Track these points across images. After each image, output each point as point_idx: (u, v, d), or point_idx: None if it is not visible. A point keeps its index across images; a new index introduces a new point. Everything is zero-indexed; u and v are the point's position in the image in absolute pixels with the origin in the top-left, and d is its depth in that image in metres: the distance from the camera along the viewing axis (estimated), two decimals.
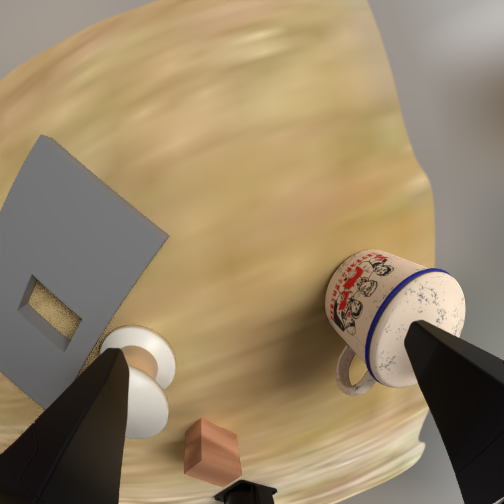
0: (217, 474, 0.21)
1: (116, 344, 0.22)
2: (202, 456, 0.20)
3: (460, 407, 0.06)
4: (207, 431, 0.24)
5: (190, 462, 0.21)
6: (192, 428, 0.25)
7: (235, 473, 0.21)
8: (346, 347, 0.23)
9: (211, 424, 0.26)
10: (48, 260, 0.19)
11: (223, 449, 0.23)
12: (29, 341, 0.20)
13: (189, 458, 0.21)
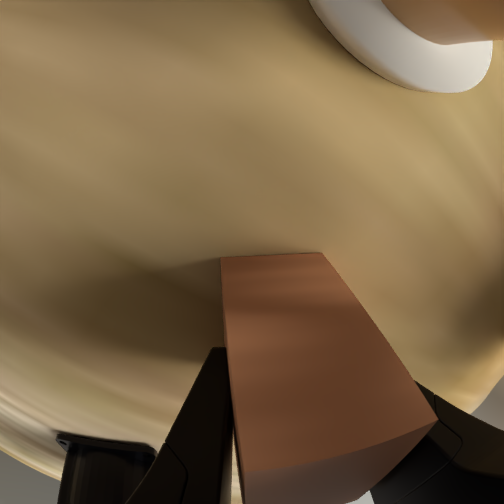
0: (330, 494, 0.04)
1: None
2: (424, 400, 0.04)
3: None
4: None
5: (309, 411, 0.04)
6: (270, 261, 0.08)
7: (358, 496, 0.05)
8: None
9: None
10: None
11: None
12: None
13: (298, 384, 0.04)
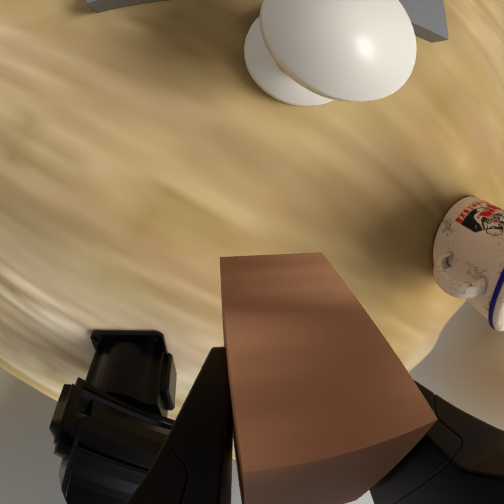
0: (330, 494, 0.04)
1: None
2: (423, 400, 0.04)
3: None
4: None
5: (308, 410, 0.04)
6: (270, 261, 0.08)
7: (357, 496, 0.05)
8: (449, 254, 0.19)
9: None
10: None
11: None
12: None
13: (297, 384, 0.04)
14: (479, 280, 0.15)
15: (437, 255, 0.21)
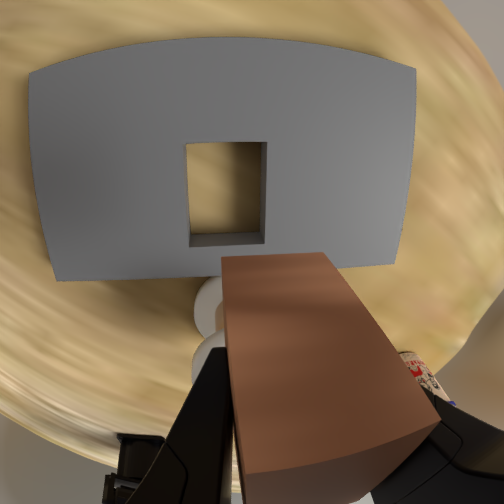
0: (332, 495, 0.04)
1: None
2: (426, 400, 0.04)
3: None
4: None
5: (312, 411, 0.04)
6: (271, 261, 0.08)
7: (359, 496, 0.05)
8: None
9: None
10: (306, 159, 0.15)
11: None
12: (148, 189, 0.15)
13: (300, 385, 0.04)
14: None
15: None
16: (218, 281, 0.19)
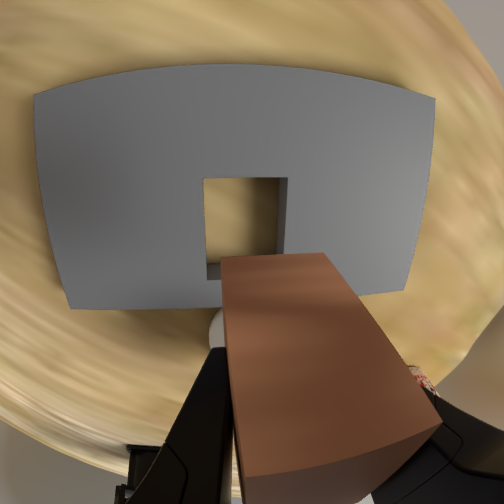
0: (332, 497, 0.04)
1: None
2: (428, 402, 0.04)
3: None
4: None
5: (312, 414, 0.04)
6: (271, 261, 0.08)
7: (360, 498, 0.05)
8: None
9: None
10: (325, 194, 0.16)
11: None
12: (166, 224, 0.15)
13: (300, 387, 0.04)
14: None
15: None
16: None
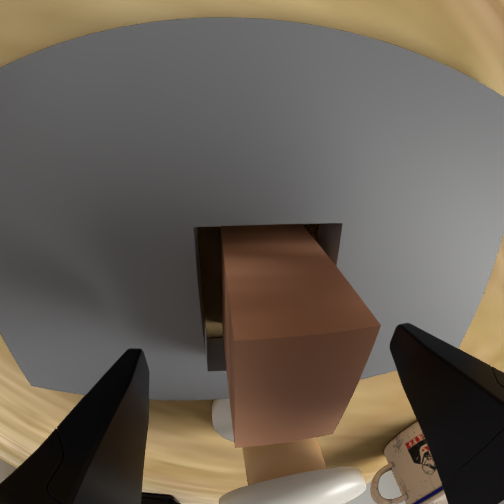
0: (305, 407, 0.06)
1: None
2: (370, 314, 0.06)
3: (445, 414, 0.05)
4: None
5: (281, 309, 0.06)
6: (260, 227, 0.10)
7: (332, 425, 0.07)
8: (391, 466, 0.20)
9: None
10: (393, 248, 0.09)
11: None
12: (138, 299, 0.09)
13: (275, 295, 0.06)
14: (401, 497, 0.16)
15: (386, 455, 0.22)
16: None
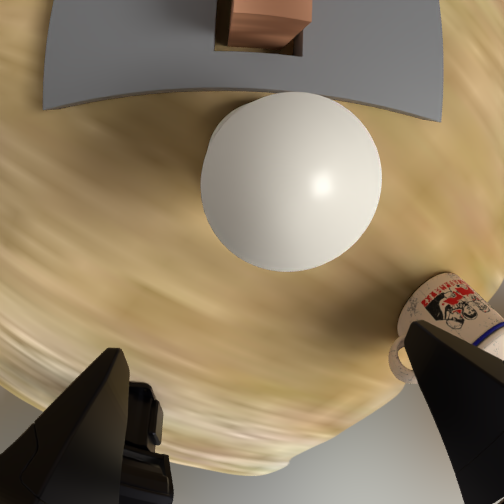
0: None
1: None
2: None
3: (460, 407, 0.06)
4: None
5: None
6: None
7: (307, 8, 0.08)
8: None
9: None
10: None
11: None
12: None
13: None
14: None
15: (400, 329, 0.23)
16: (242, 106, 0.14)
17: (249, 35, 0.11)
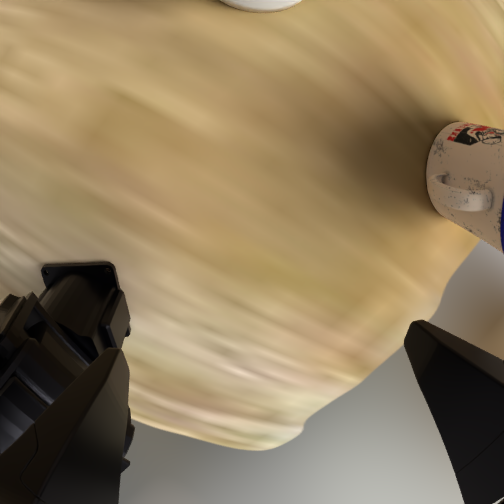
0: None
1: None
2: None
3: (460, 407, 0.06)
4: None
5: None
6: None
7: None
8: (444, 173, 0.16)
9: None
10: None
11: None
12: None
13: None
14: (483, 190, 0.12)
15: None
16: None
17: None
